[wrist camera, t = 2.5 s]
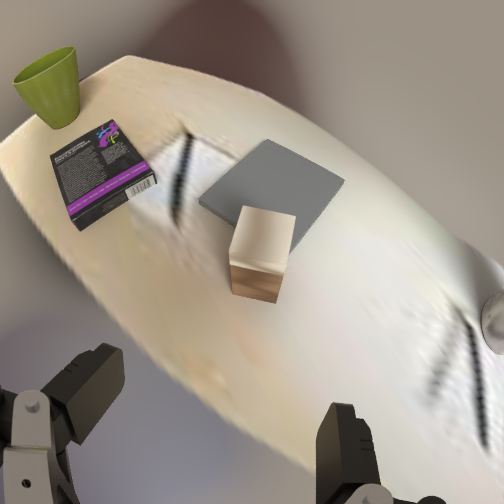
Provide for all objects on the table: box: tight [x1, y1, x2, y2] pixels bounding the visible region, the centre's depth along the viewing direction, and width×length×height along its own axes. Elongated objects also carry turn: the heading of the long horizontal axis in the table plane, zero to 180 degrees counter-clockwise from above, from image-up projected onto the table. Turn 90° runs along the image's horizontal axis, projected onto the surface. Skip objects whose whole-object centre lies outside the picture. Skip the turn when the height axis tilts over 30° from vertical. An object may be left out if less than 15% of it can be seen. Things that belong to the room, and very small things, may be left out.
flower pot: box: [12, 46, 79, 129], centre depth 45 cm, size 15×15×16 cm
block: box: [229, 206, 296, 304], centre depth 31 cm, size 5×5×10 cm
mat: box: [199, 139, 345, 254], centre depth 41 cm, size 14×16×1 cm
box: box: [50, 120, 157, 231], centre depth 42 cm, size 14×4×20 cm
